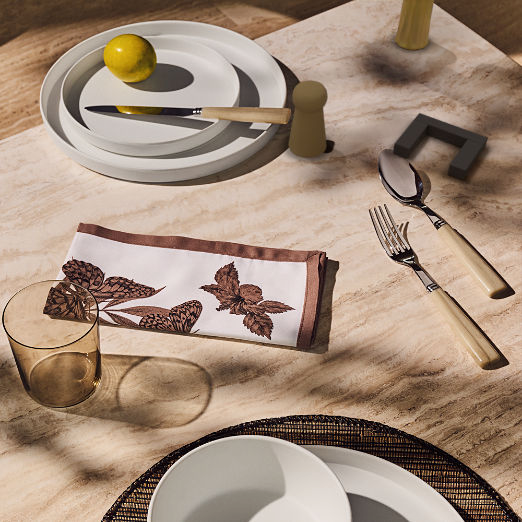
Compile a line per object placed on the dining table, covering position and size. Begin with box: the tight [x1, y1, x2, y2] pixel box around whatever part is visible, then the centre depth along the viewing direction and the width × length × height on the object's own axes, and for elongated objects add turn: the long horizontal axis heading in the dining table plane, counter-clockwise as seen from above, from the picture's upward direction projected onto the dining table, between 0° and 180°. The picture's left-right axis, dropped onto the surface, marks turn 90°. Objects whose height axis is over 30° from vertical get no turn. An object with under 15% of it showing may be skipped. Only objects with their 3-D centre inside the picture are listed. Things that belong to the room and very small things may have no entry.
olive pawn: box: [288, 79, 328, 158], centre depth 104 cm, size 6×6×11 cm
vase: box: [394, 0, 435, 51], centre depth 121 cm, size 6×6×14 cm
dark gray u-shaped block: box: [392, 112, 489, 181], centre depth 106 cm, size 12×9×2 cm
